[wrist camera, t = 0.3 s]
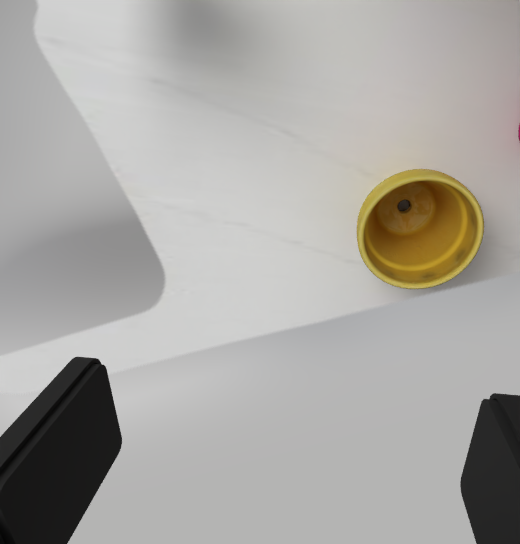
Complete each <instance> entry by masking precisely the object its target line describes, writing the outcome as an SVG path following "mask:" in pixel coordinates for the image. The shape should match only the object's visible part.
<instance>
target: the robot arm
mask: <svg viewBox="0 0 520 544" xmlns="http://www.w3.org/2000/svg"><path fill="white" fill-rule="evenodd" d="M121 444H122V437H121V432H120V428H119V423H118V419H117V415H116V410H115V406H114V401H113V396H112V392H111V388H110V383H109V379H108V374H107V370H106V367H105V366H104V365H101V362H100V361H99V360H98V359H96V358H85V357H75V358H73V359H72V360H71V361H70V362H69V363H68V364H67V365H66V366H65V367H64V369H63V370H62V371H61V372H60V373H59V374H58V375H57V376H56V377H55V378H54V379H53V380H52V382H51V383H50V384H49V385H48V386H47V387H46V388H45V389H44V390H43V391H42V392H41V393H40V395H39V396H38V397H37V398H36V399H35V400H34V401H33V402H32V403H31V404H30V405H29V406H28V408H27V409H26V410H25V411H24V412H23V413H22V414H21V415H20V416H19V417H18V418H17V420H16V421H15V422H14V423H13V424H12V425H11V426H10V427H9V428H8V429H7V430H6V431H5V432H4V434H3V435H2V436H1V437H0V544H67V543H68V541H69V540H70V538H71V536H72V534H73V533H74V531H75V529H76V527H77V526H78V524H79V522H80V520H81V519H82V517H83V515H84V513H85V511H86V510H87V508H88V506H89V504H90V503H91V501H92V499H93V497H94V496H95V494H96V492H97V490H98V489H99V487H100V485H101V483H102V482H103V480H104V478H105V476H106V475H107V473H108V471H109V469H110V468H111V466H112V464H113V462H114V461H115V459H116V457H117V455H118V453H119V451H120V449H121ZM461 493H462V497H463V501H464V504H465V507H466V510H467V514H468V517H469V520H470V523H471V527H472V530H473V533H474V536H475V539H476V543H477V544H520V396H518V395H507V394H496V393H495V394H492V395H491V396H490V399H484V400H483V401H482V403H481V406H480V410H479V413H478V417H477V421H476V424H475V428H474V432H473V436H472V439H471V443H470V447H469V451H468V454H467V458H466V462H465V465H464V469H463V473H462V477H461Z"/></svg>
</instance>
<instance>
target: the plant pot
mask: <svg viewBox="0 0 520 544" xmlns="http://www.w3.org/2000/svg"><path fill="white" fill-rule="evenodd" d="M402 200H408V201H409V202H410V207H409V208H408V209H407V210H406V211H400V210H399V209H398V204H399V202H400V201H402ZM483 233H484V219H483V214H482V210H481V207H480V205H479V203H478V201H477V199H476V198H475V196H474V195H473V194H472V193H471V192H470V191H469V190H468V189H467V188H466V187H465V186H464V185H463V184H461V183H460V182H459V181H457V180H456V179H454V178H452V177H451V176H449V175H447V174H444V173H442V172H439V171H435V170H429V169H414V170H408V171H404V172H400V173H398V174H395V175H393V176H391V177H389V178H387V179H386V180H384V181H383V182H381V183H380V184H379V185H377V186H376V187H375V188H374V189H373V190H372V191H371V193H370V194H369V195H368V196H367V198H366V199H365V201H364V203H363V205H362V207H361V209H360V212H359V216H358V221H357V241H358V247H359V251H360V254H361V257H362V259H363V261H364V263H365V264H366V266H367V267H368V268H369V270H370V271H371V272H372V273H373V274H374V275H375V276H377V277H378V278H379V279H381V280H382V281H384V282H386V283H388V284H391V285H393V286H396V287H400V288H406V289H423V288H429V287H433V286H437V285H440V284H442V283H445V282H447V281H449V280H450V279H452V278H454V277H455V276H457V275H458V274H459V273H461V272H462V271H463V270H464V269H465V268H466V267H467V266H468V265H469V264H470V262H471V261H472V260H473V258H474V257H475V255H476V253H477V251H478V249H479V247H480V245H481V242H482V238H483Z"/></svg>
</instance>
